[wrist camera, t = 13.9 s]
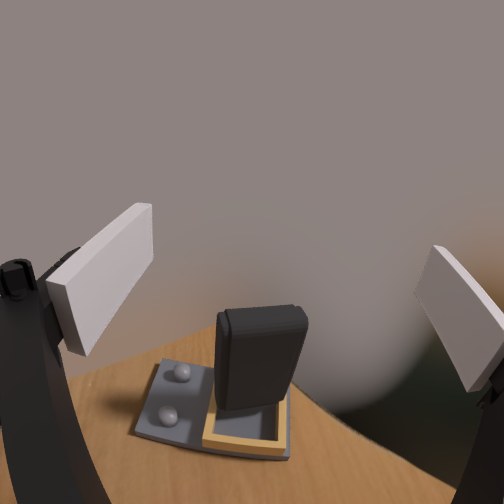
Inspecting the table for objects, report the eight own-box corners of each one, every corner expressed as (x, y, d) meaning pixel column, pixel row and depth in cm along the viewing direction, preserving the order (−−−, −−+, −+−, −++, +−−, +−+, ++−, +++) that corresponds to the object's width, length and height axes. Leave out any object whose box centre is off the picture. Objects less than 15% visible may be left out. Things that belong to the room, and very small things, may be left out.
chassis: (287, 383, 44) (292, 367, 42) (287, 460, 32) (294, 448, 30) (163, 364, 44) (161, 347, 43) (136, 435, 32) (130, 421, 30)
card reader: (277, 382, 39) (299, 298, 32) (286, 405, 36) (314, 321, 29) (212, 390, 37) (216, 303, 30) (217, 415, 33) (223, 330, 27)
